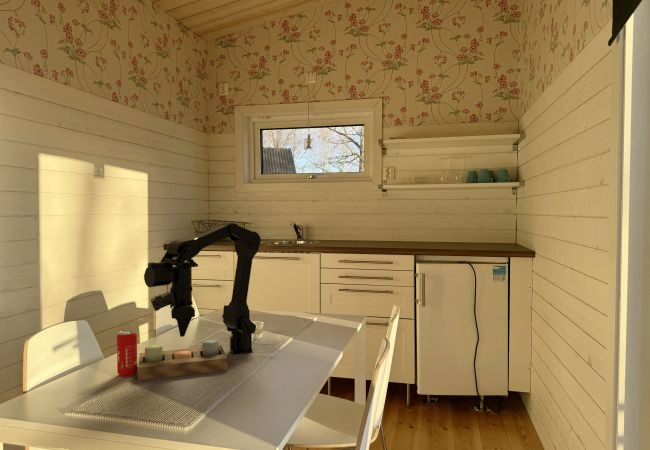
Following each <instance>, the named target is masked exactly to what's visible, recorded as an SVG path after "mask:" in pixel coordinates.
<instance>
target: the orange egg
mask: <svg viewBox="0 0 650 450" xmlns="http://www.w3.org/2000/svg"><path fill="white" fill-rule="evenodd" d="M184 358H191V351H178V352H175V353H174V359H184Z"/></svg>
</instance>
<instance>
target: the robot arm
mask: <svg viewBox="0 0 650 450" xmlns="http://www.w3.org/2000/svg"><path fill="white" fill-rule="evenodd" d="M226 238H228V240H230V241H232V242H233V243H234V250H235V253H236V256H237V257H236V258H237V259H236V265H235V266H236V267H235V274H234V279H233V280H234V281H233V288H232V293H231V294H232V295H231V300H230V302H229V303H228V305H225V304H224V305H223V312H222V313H223V314H222V316H221V318H222V322H223V324H224V325H225V327H226V330H227V332H230V335H229V337H228V338H229V339H228V340H229V342H228V343H229V350H230V351H231V353H232V354H233V355H235V354H236V355H237V354H246V353H253V352H254V350H253V347H252V346H253V345H252V342H253V341H252V340H253V339H252V336H253V334H255V333H256V331H257V330H256V329H257V325H256V324H255V323H254V322H253V321H252V320H251V319H250V315H251V314H250V313H251V312H250V309H249V306H248V295H249V294H248V293H249V288H250V287H249V286H250V280H251V274H252V273H251V272H252V266H253V260H254V257H255V256H256V255H257V253H258V252H259V248H260V245H261V242H262V241H261V239H262V237H261V236H260V235H259V233H258V232H257V231H252V230H249V229H247V228H246V227H242V226H240V225H239V224H237V223H235V222H224V223H221V224H220V225H218V226H217V227H213V228H212V229H209V230H206V231H204V232H202V233H200V234H198V235H194V236H192V237H185V238H179V239H176V240H172V241H170V243H169V244H168V247H167V250H166V252H165V253H164V255H163V257H162V258H161V260H160V261H159V262H154V261H153V262H151V261H150V262H148V263H147V267H146V268H145V271H144V274H143V280H144V283H145V285H146V286H147V287H148V288H154V287H155V288H157V287H163V286H168V285H169V286H170V285H171V286H170V287H169V291H168V292H165V293H162V294H159V295H155V296H154V297H152V298H150V302H151V305H152V307H153V310H154V312H158V311H159V310H160V309H163V308H165V307H168V306H169V308H170V309H171V310H170V314H171V319H175V321H176V323H177V327H178V332H179V336H180V337H182V338H183V337H185V336H186V333H187V330H188V328H189V325H190V323H191V321H192V318H195V316H196V309H195V307H194V306H193V300H192V299H193V295H192V294H193V284H192V282H193V281H192V280H193V279H192V278H193V276H192V275H193V274H192V272H193V271H192V268H198V267H199V264H198V263H197V262H196V261H194V257H196V256H197V255H199V253H201V251H202V250H204V249H205V248H207V247H209V246H212V245H214V244H216V243H218V242H220V241H222V240H225V239H226Z"/></svg>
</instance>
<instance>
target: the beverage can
mask: <svg viewBox="0 0 650 450" xmlns="http://www.w3.org/2000/svg"><path fill="white" fill-rule="evenodd" d="M116 356H117V357H116V358H117V361H116V363H117V364H116V365H117V367H116V368H117V375H118V377H120V378H131V377H133V376H136V374H137V373H138V334H137V331H136V330H133V329H132V330H131V329H130V330H129V329H128V330H122V331H118V332H117V335H116Z"/></svg>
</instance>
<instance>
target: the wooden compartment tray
mask: <svg viewBox="0 0 650 450" xmlns="http://www.w3.org/2000/svg"><path fill="white" fill-rule="evenodd" d="M178 351H191V358H184V359H174V353H175V352H178ZM228 364H229V362H228V357H227V355H226V352H225V350H224V348H223V346H222V345H219V355H213V356H204V357H203V356H202V346H201V347H193V348H192V347H191V348H181V349H171V350H163V361H155V362H145V352H142V353H139V357H138V363H137V380H138V381H143V380H153V379H162V378H163V379H164V378H170V377H171V378H172V377H178V376H179V377H180V376H187V375H188V376H189V375H196V374H204V373H206V374H207V373H216V372H222V371H223V372H224V371H228V370H229V369H228Z"/></svg>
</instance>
